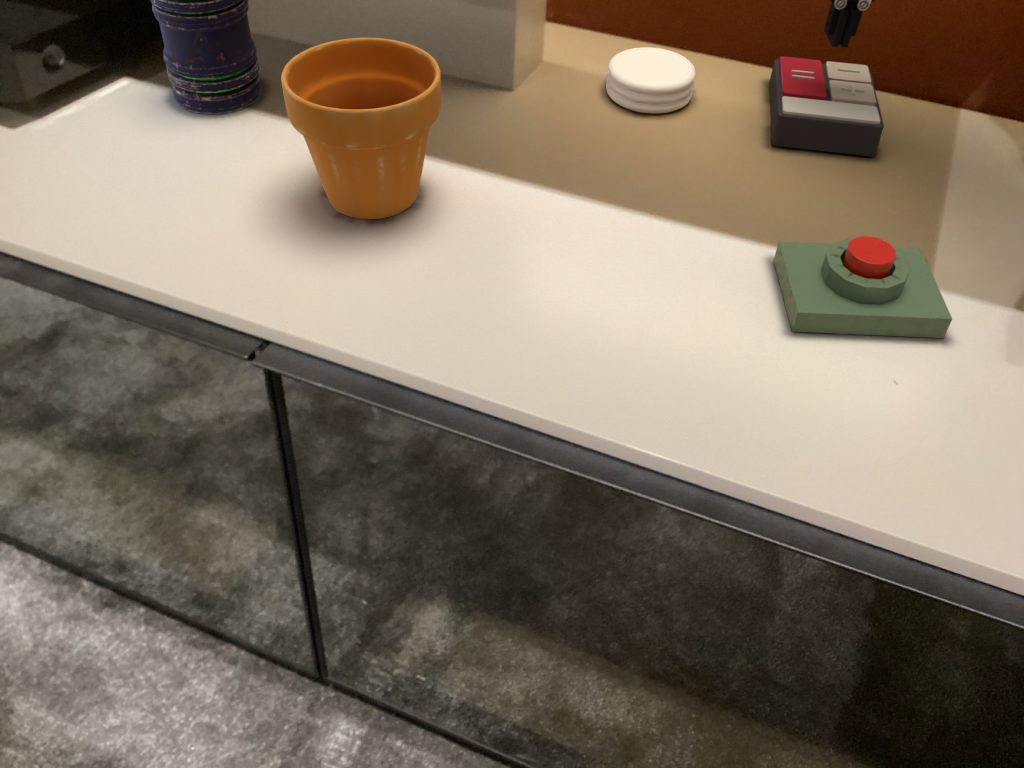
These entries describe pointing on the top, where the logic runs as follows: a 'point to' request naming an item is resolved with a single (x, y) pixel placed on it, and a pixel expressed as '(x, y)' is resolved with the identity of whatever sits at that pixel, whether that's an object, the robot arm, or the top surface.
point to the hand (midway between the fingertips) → (836, 41)
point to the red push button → (869, 257)
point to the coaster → (650, 80)
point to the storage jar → (209, 54)
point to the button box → (859, 293)
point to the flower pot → (365, 119)
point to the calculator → (824, 107)
